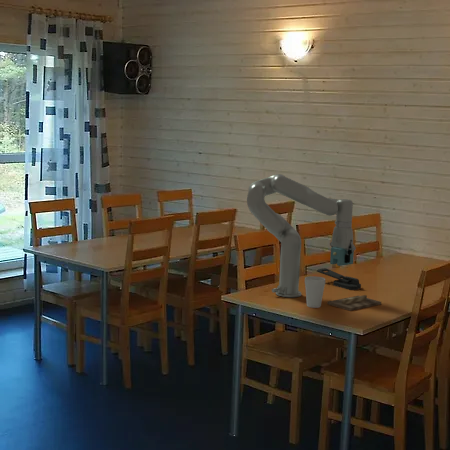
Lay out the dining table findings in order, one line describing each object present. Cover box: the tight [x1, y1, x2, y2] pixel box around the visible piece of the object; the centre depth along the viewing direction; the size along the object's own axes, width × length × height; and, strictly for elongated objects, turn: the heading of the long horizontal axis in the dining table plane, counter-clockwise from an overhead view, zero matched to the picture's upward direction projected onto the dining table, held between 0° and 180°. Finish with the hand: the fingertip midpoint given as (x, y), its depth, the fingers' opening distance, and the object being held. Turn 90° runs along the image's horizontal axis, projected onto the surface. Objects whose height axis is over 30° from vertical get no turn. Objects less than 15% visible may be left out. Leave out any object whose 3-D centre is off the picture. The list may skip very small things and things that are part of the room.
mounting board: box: [326, 294, 382, 312], centre depth 335 cm, size 22×14×3 cm, turn 129°
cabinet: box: [329, 247, 355, 267], centre depth 346 cm, size 11×6×8 cm, turn 130°
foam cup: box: [304, 275, 326, 309], centre depth 329 cm, size 10×9×13 cm
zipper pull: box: [316, 267, 362, 291], centre depth 374 cm, size 9×7×25 cm
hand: (341, 261), depth 347 cm, fingers closed on cabinet, 6 cm apart
